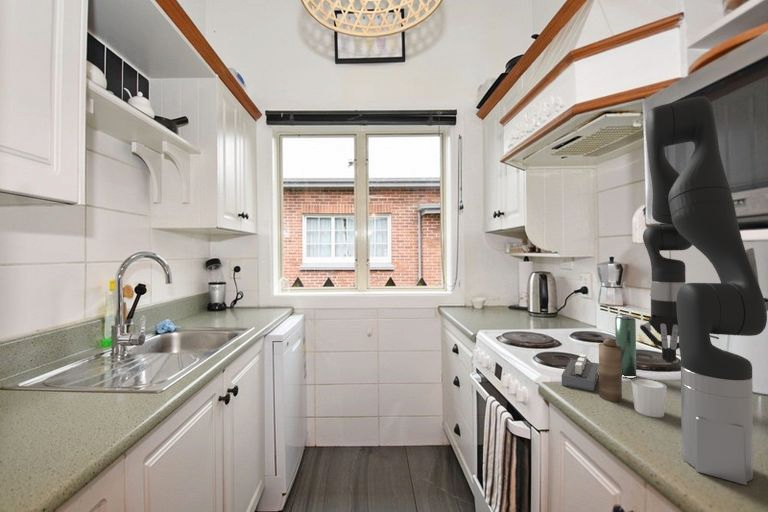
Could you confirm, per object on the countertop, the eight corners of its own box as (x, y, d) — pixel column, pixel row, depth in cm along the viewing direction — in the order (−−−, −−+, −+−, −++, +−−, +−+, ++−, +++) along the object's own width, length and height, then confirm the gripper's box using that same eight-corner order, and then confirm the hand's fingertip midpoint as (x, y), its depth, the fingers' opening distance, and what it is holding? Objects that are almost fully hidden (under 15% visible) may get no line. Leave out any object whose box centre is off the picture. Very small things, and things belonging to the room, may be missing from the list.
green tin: (636, 379, 101) (635, 318, 101) (615, 376, 104) (614, 316, 104) (636, 374, 106) (635, 315, 105) (616, 371, 109) (615, 313, 109)
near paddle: (581, 374, 97) (581, 365, 97) (575, 373, 98) (575, 364, 98) (582, 371, 100) (582, 362, 100) (576, 370, 101) (576, 361, 100)
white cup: (674, 419, 77) (674, 389, 77) (640, 417, 79) (640, 387, 79) (656, 406, 84) (656, 378, 84) (626, 404, 85) (625, 377, 85)
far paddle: (585, 365, 105) (585, 356, 105) (579, 364, 106) (579, 355, 106) (586, 362, 108) (586, 354, 108) (580, 361, 108) (580, 353, 108)
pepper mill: (621, 403, 86) (620, 341, 86) (598, 398, 89) (597, 338, 89) (622, 396, 90) (621, 337, 90) (600, 392, 93) (599, 335, 93)
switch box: (593, 391, 93) (593, 380, 93) (561, 385, 98) (561, 374, 98) (599, 372, 108) (598, 363, 108) (571, 367, 112) (570, 358, 112)
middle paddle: (583, 369, 101) (583, 361, 101) (577, 368, 102) (577, 360, 102) (584, 366, 104) (584, 358, 104) (578, 365, 104) (578, 357, 104)
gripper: (637, 298, 91) (638, 361, 91) (704, 301, 83) (705, 370, 83) (637, 295, 97) (638, 354, 97) (699, 298, 89) (700, 362, 89)
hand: (669, 361), depth 90 cm, fingers closed
